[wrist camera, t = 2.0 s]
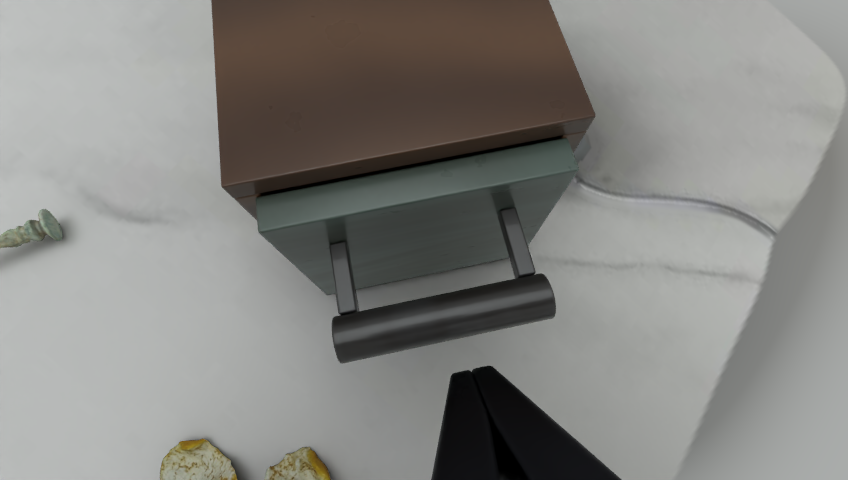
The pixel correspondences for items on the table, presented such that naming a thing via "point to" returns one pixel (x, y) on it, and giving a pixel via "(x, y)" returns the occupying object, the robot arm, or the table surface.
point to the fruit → (214, 476)
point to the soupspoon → (32, 231)
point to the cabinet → (384, 86)
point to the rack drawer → (424, 242)
